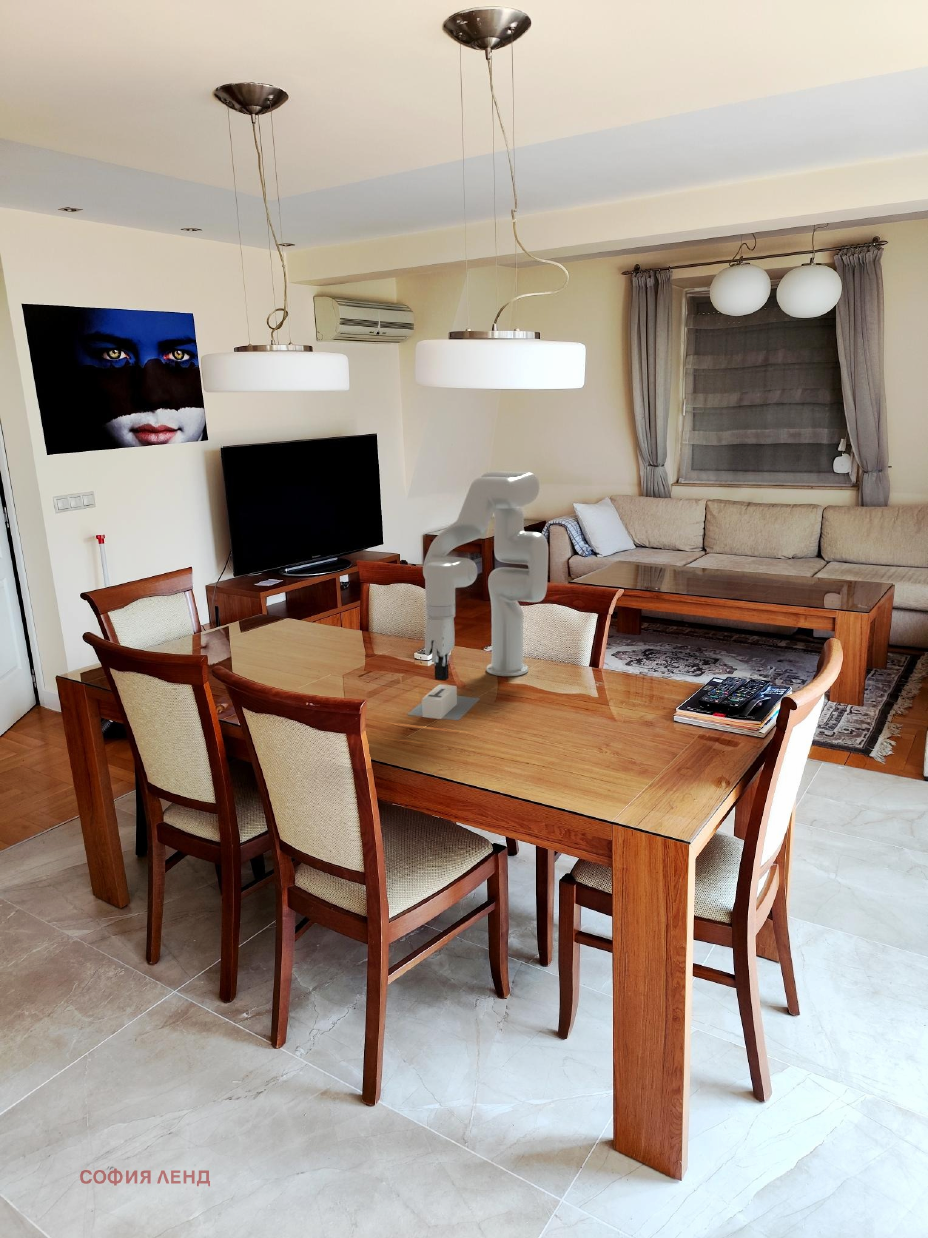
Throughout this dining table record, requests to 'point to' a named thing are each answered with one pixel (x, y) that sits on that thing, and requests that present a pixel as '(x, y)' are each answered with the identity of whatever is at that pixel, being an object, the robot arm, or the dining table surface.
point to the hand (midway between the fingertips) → (441, 679)
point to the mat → (456, 712)
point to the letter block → (439, 701)
